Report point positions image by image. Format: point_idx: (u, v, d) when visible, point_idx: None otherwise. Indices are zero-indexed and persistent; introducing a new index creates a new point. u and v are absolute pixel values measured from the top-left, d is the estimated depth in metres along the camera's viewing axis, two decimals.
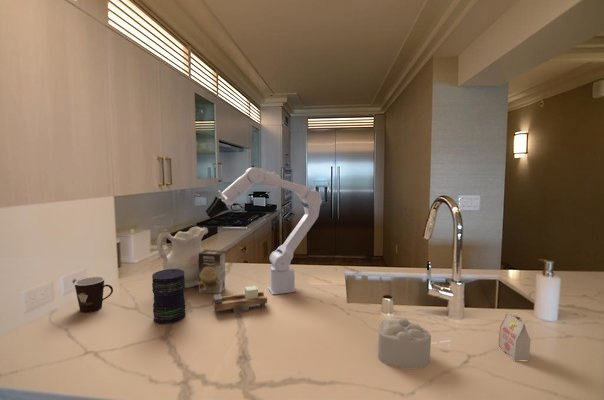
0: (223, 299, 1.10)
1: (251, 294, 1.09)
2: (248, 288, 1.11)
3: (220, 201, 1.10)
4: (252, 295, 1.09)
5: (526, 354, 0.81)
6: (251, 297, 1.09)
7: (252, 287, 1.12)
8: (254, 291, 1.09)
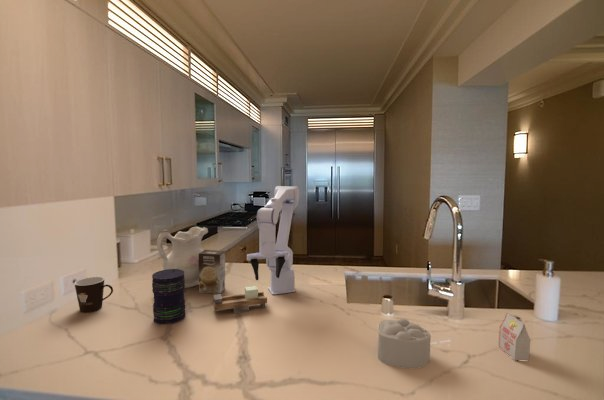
0: (223, 299, 1.10)
1: (251, 294, 1.09)
2: (248, 288, 1.11)
3: None
4: (252, 295, 1.09)
5: (526, 354, 0.81)
6: (251, 297, 1.09)
7: (252, 287, 1.12)
8: (254, 291, 1.09)
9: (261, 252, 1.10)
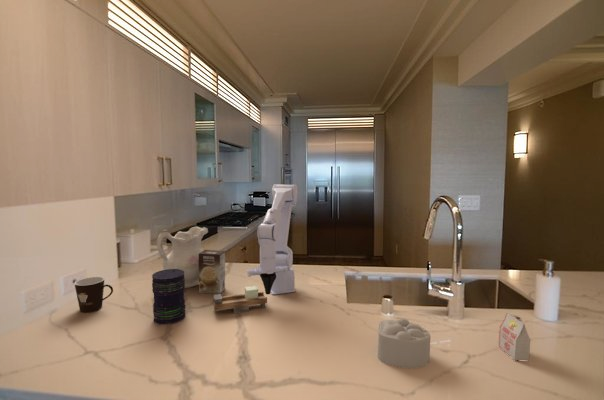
0: (223, 299, 1.10)
1: (251, 294, 1.09)
2: (248, 288, 1.11)
3: None
4: (252, 295, 1.09)
5: (526, 354, 0.81)
6: (251, 297, 1.09)
7: (252, 287, 1.12)
8: (254, 291, 1.09)
9: (261, 268, 1.10)
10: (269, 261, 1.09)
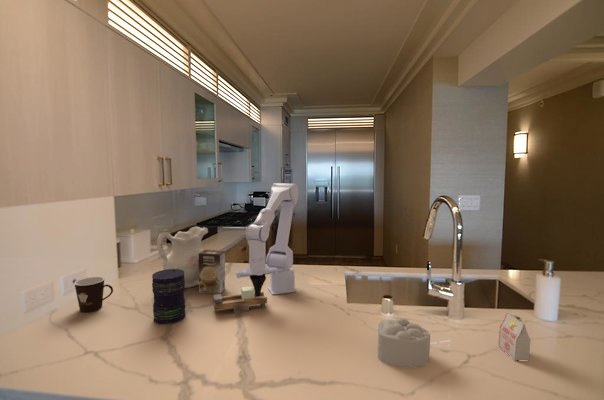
0: (223, 299, 1.10)
1: (247, 295, 1.09)
2: (245, 288, 1.10)
3: None
4: (248, 296, 1.09)
5: (526, 354, 0.81)
6: (247, 297, 1.09)
7: (249, 287, 1.11)
8: (250, 291, 1.09)
9: (251, 269, 1.09)
10: (258, 262, 1.08)
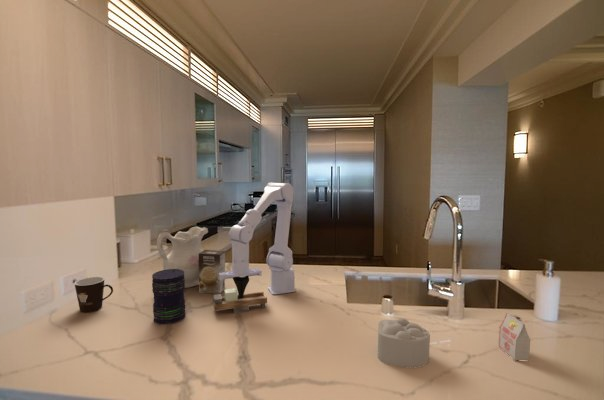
0: (223, 299, 1.10)
1: (230, 297, 1.07)
2: (227, 291, 1.08)
3: None
4: (231, 298, 1.07)
5: (526, 354, 0.81)
6: (230, 300, 1.07)
7: (232, 289, 1.09)
8: (233, 294, 1.07)
9: (234, 271, 1.07)
10: (241, 264, 1.06)
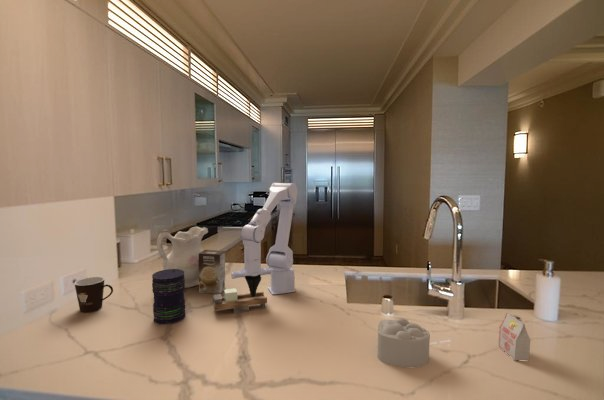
0: (223, 299, 1.10)
1: (230, 297, 1.07)
2: (227, 291, 1.08)
3: None
4: (231, 298, 1.07)
5: (526, 354, 0.81)
6: (230, 300, 1.07)
7: (231, 289, 1.09)
8: (233, 294, 1.07)
9: (246, 270, 1.08)
10: (253, 263, 1.08)
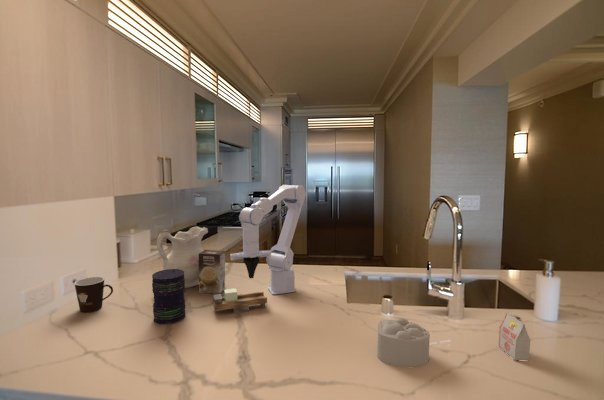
0: (223, 299, 1.10)
1: (230, 297, 1.07)
2: (227, 291, 1.08)
3: None
4: (231, 298, 1.07)
5: (526, 354, 0.81)
6: (230, 300, 1.07)
7: (231, 289, 1.09)
8: (233, 294, 1.07)
9: (244, 252, 1.11)
10: (252, 245, 1.10)
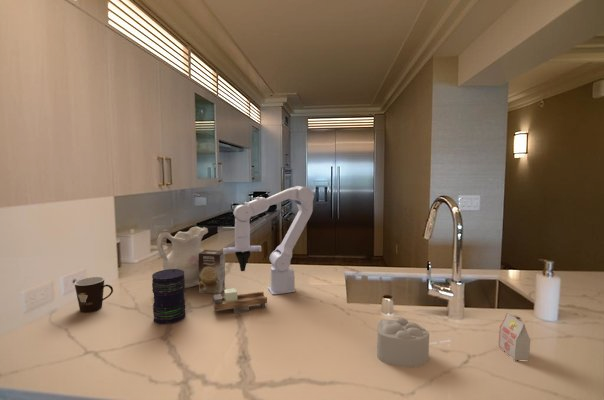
0: (223, 299, 1.10)
1: (230, 297, 1.07)
2: (227, 291, 1.08)
3: None
4: (231, 298, 1.07)
5: (526, 354, 0.81)
6: (230, 300, 1.07)
7: (231, 289, 1.09)
8: (233, 294, 1.07)
9: (236, 246, 1.18)
10: (243, 240, 1.18)
